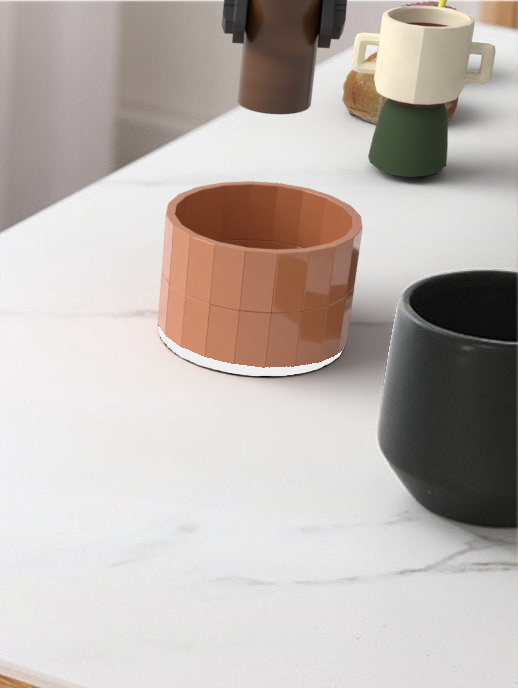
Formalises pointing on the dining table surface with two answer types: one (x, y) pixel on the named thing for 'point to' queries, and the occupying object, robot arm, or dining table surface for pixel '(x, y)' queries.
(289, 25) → the spice shaker
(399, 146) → the character mug
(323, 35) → the robot arm
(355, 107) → the bread roll
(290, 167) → the dining table surface
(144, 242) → the dining table surface
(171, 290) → the pot
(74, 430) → the dining table surface
